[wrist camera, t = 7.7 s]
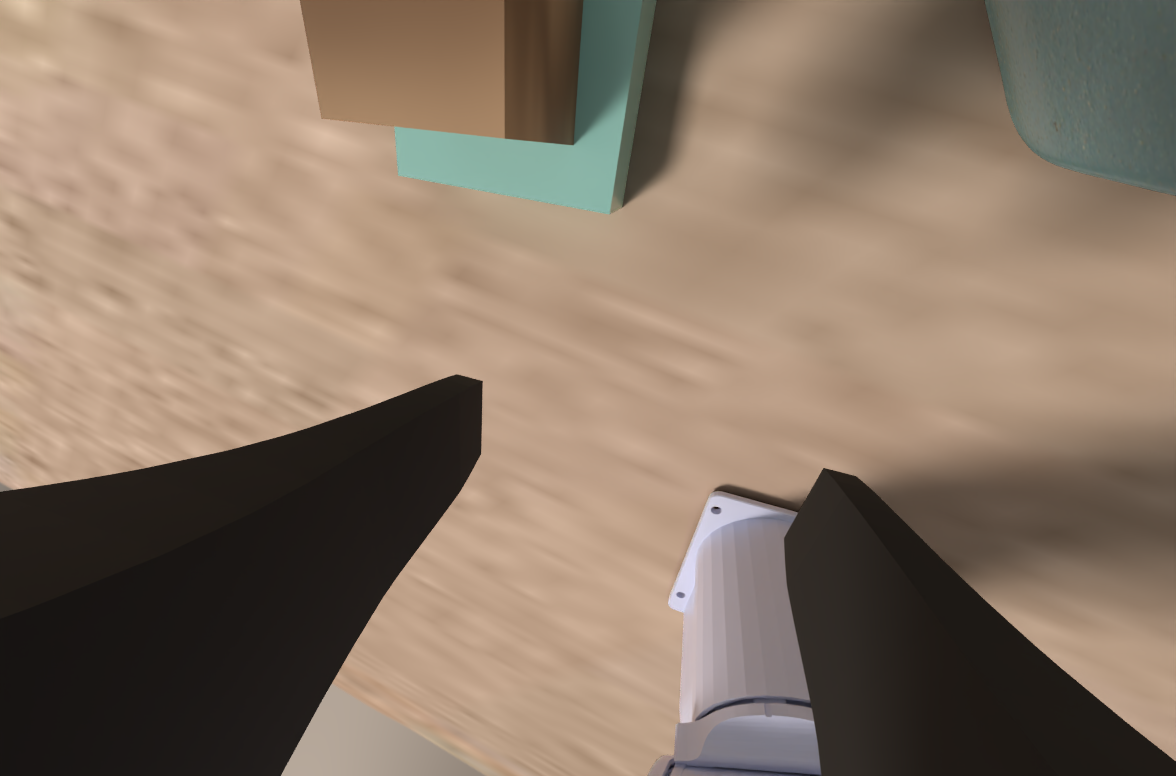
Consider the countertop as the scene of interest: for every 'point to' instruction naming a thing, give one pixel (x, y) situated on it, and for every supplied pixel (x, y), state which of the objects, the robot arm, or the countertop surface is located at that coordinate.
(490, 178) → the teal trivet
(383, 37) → the walnut block
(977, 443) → the countertop surface
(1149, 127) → the flower pot
